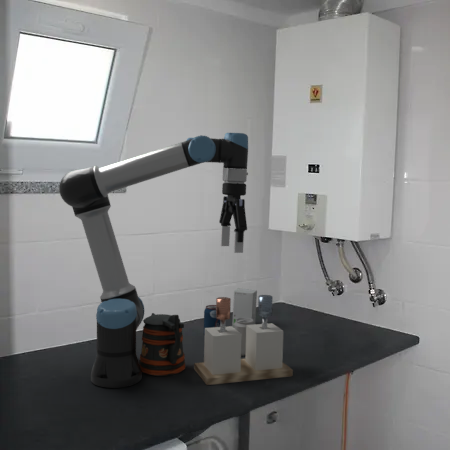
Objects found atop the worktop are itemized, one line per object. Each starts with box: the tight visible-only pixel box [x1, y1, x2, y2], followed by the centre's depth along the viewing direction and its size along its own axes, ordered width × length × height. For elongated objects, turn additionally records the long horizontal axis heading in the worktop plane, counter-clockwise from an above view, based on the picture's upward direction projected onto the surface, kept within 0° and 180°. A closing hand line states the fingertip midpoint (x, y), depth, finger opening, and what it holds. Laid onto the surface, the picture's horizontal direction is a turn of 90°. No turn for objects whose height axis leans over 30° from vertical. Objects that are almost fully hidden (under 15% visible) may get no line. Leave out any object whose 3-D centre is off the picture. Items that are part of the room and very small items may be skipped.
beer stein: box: [139, 312, 186, 377], centre depth 186 cm, size 19×15×20 cm
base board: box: [193, 358, 294, 386], centre depth 186 cm, size 28×14×2 cm, turn 109°
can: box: [234, 318, 256, 357], centre depth 205 cm, size 8×8×12 cm
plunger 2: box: [257, 294, 274, 329], centre depth 187 cm, size 4×4×19 cm
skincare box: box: [231, 287, 258, 328], centre depth 236 cm, size 8×7×16 cm
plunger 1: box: [215, 296, 232, 333], centre depth 183 cm, size 4×4×19 cm
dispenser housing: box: [203, 322, 284, 375], centre depth 186 cm, size 23×9×12 cm, turn 109°
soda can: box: [203, 304, 220, 337], centre depth 222 cm, size 7×7×12 cm
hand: (231, 249), depth 188 cm, fingers open, 13 cm apart
